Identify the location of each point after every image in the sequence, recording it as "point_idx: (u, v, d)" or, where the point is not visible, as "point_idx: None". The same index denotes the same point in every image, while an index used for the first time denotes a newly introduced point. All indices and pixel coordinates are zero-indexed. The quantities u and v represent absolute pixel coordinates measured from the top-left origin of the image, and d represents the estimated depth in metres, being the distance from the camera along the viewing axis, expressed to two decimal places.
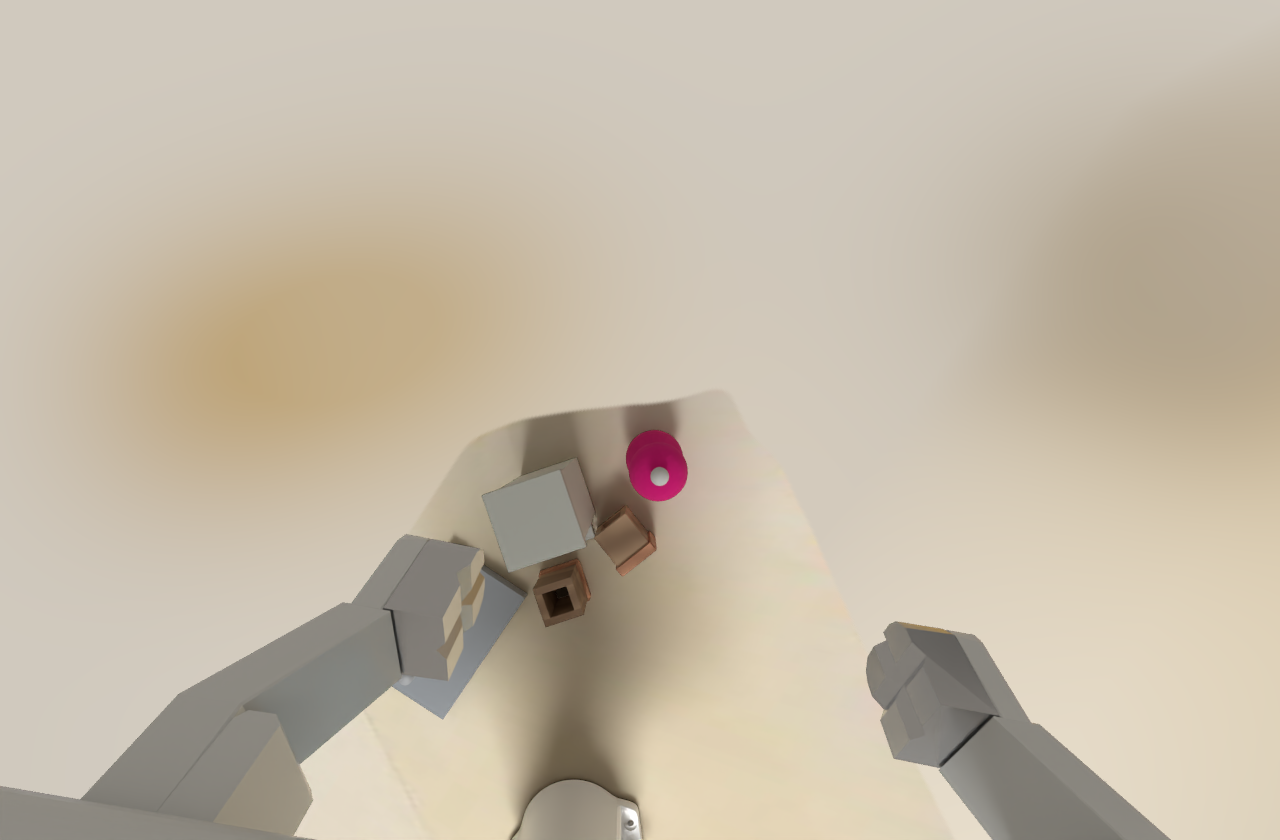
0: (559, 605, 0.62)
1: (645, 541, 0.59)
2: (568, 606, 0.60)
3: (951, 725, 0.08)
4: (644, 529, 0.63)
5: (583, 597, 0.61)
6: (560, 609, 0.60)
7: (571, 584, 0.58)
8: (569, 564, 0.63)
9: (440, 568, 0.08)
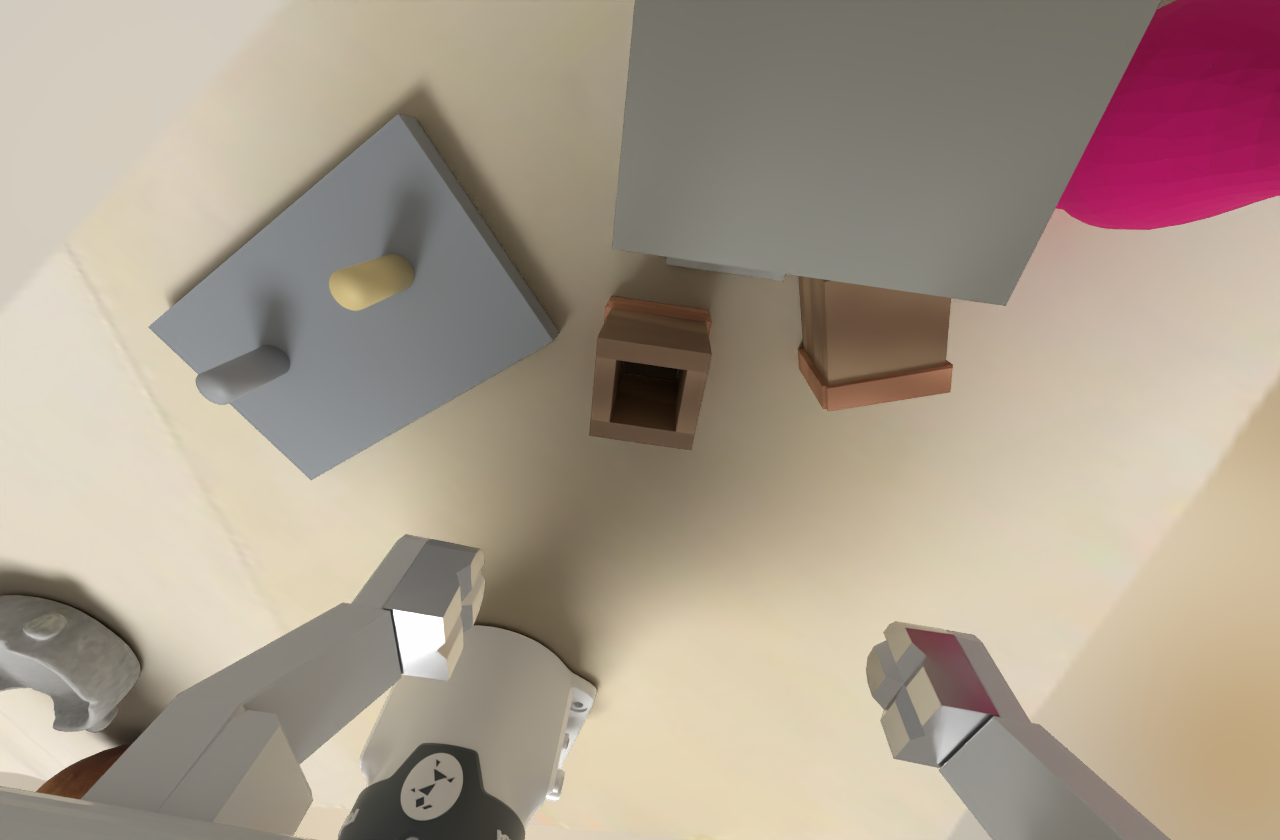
0: (630, 394, 0.25)
1: (941, 357, 0.21)
2: (654, 410, 0.24)
3: (951, 725, 0.08)
4: None
5: None
6: (634, 408, 0.24)
7: (703, 372, 0.21)
8: (690, 315, 0.24)
9: (440, 568, 0.08)
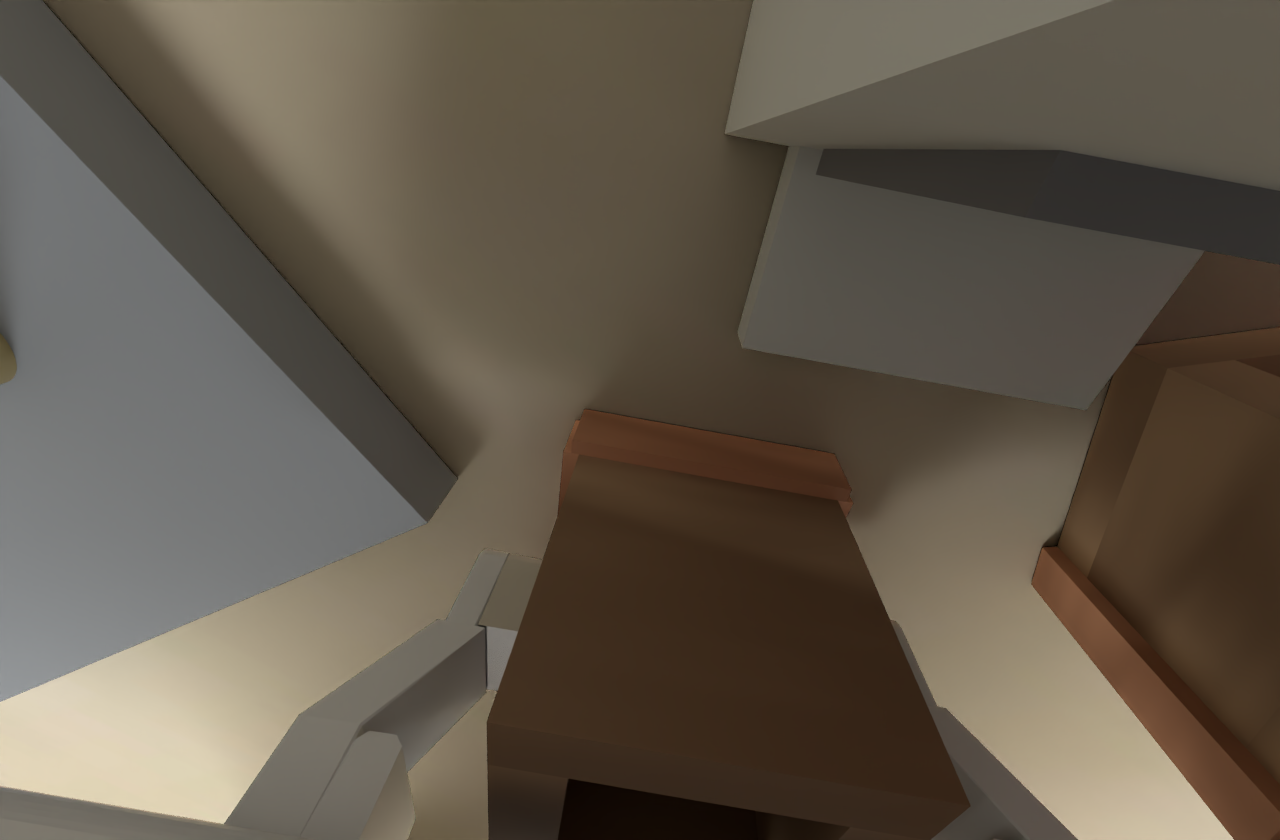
0: None
1: None
2: None
3: None
4: None
5: None
6: None
7: None
8: (796, 483, 0.09)
9: (525, 583, 0.08)
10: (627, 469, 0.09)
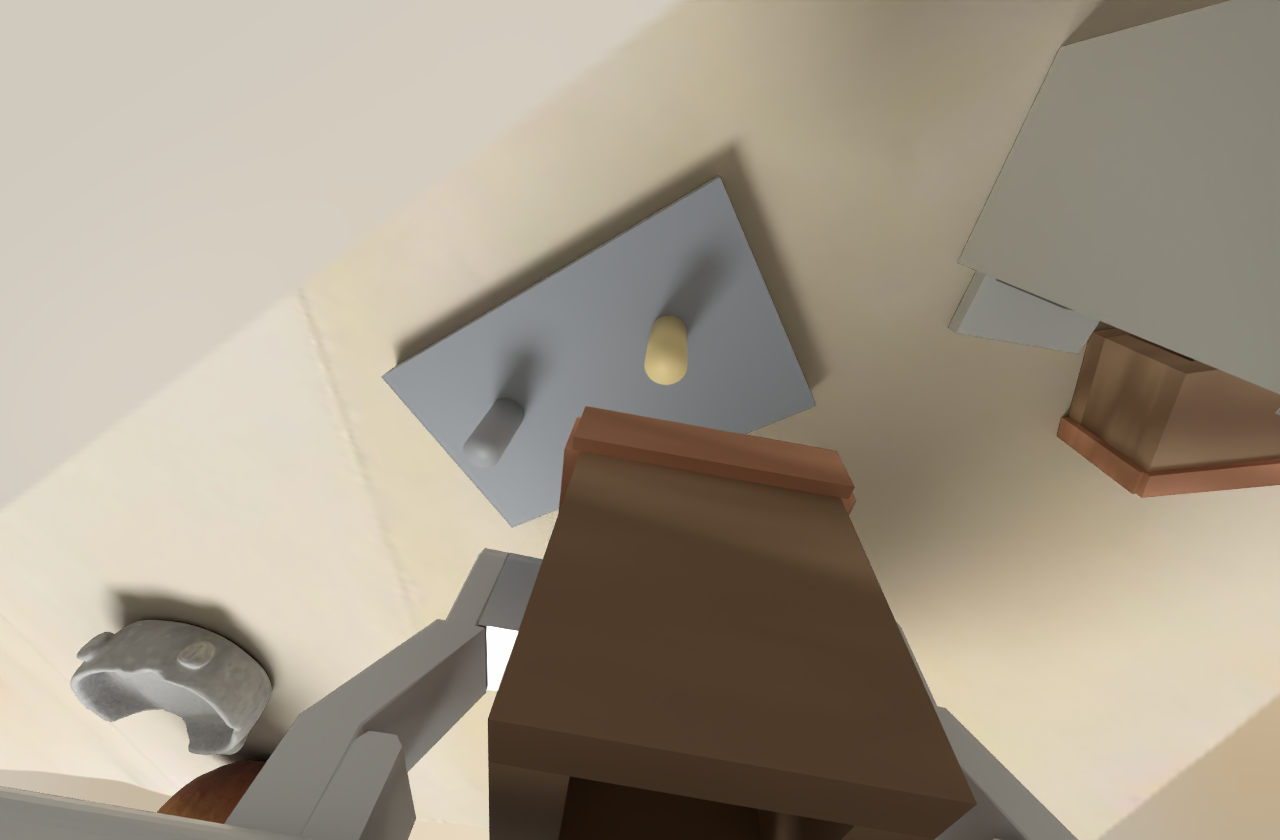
0: None
1: None
2: None
3: None
4: None
5: None
6: None
7: (917, 839, 0.05)
8: (799, 481, 0.09)
9: (525, 583, 0.08)
10: (629, 466, 0.09)
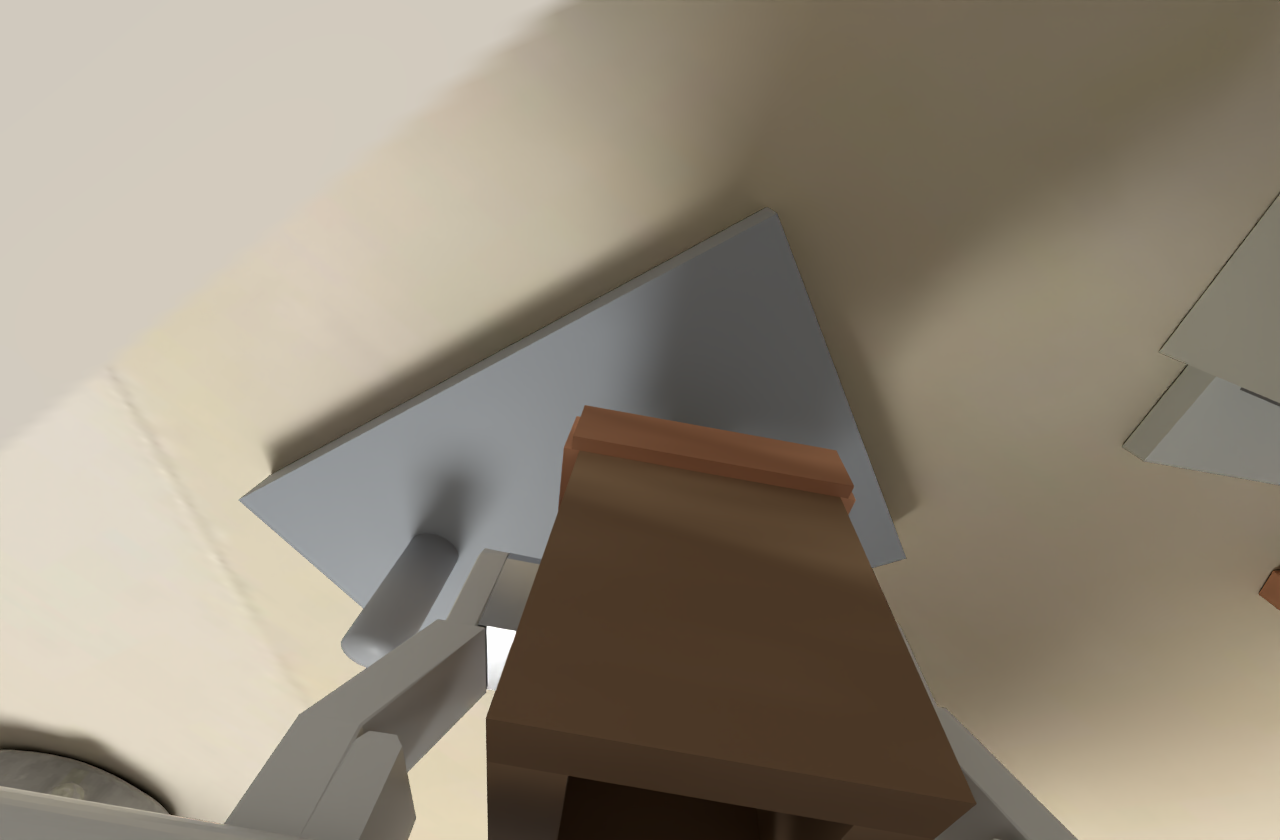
0: None
1: None
2: None
3: None
4: None
5: None
6: None
7: (916, 839, 0.05)
8: (799, 480, 0.09)
9: (525, 583, 0.08)
10: (628, 465, 0.09)
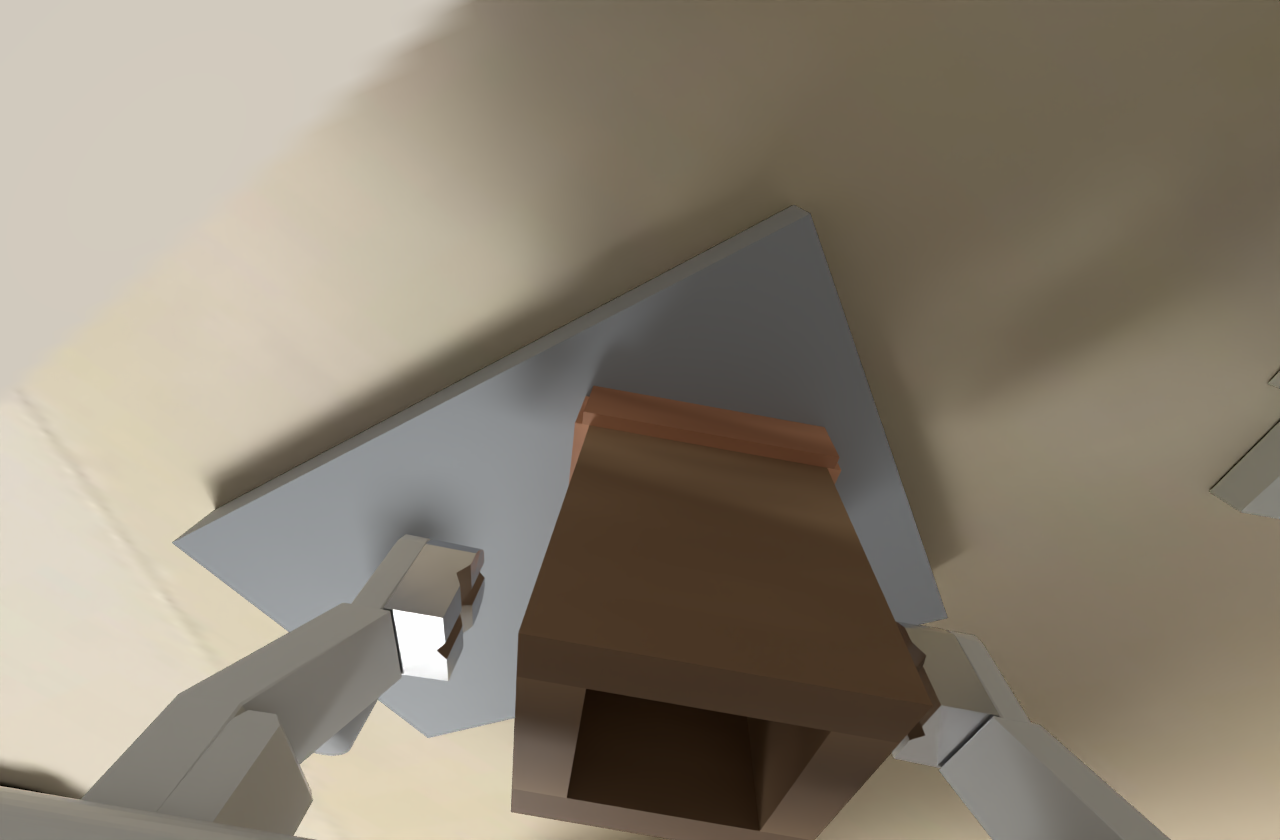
0: None
1: None
2: None
3: (951, 725, 0.08)
4: None
5: None
6: (639, 700, 0.09)
7: (884, 743, 0.06)
8: (789, 452, 0.10)
9: (440, 568, 0.08)
10: (634, 438, 0.09)
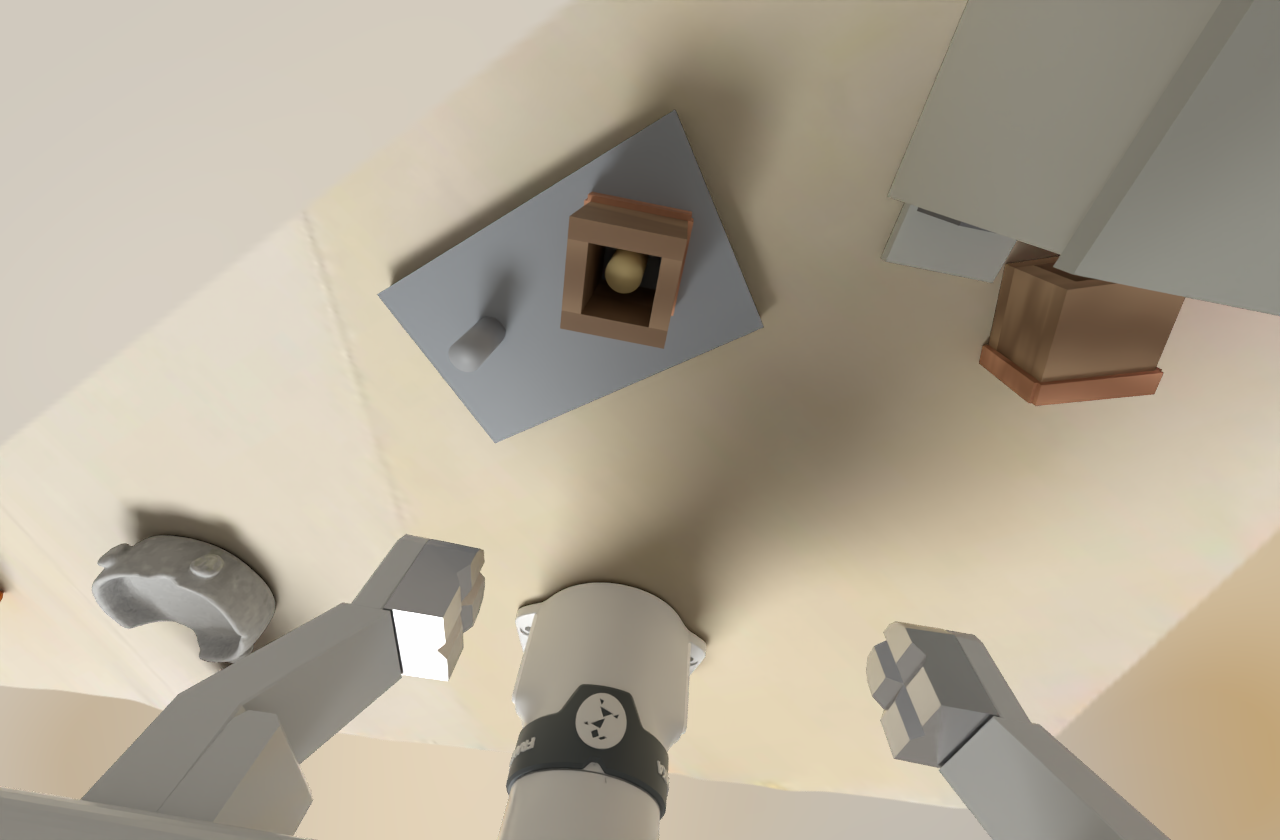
0: (606, 295, 0.24)
1: (1153, 363, 0.23)
2: (630, 309, 0.23)
3: (951, 725, 0.08)
4: None
5: None
6: (608, 306, 0.23)
7: (677, 260, 0.20)
8: (671, 213, 0.24)
9: (440, 568, 0.08)
10: (608, 205, 0.23)
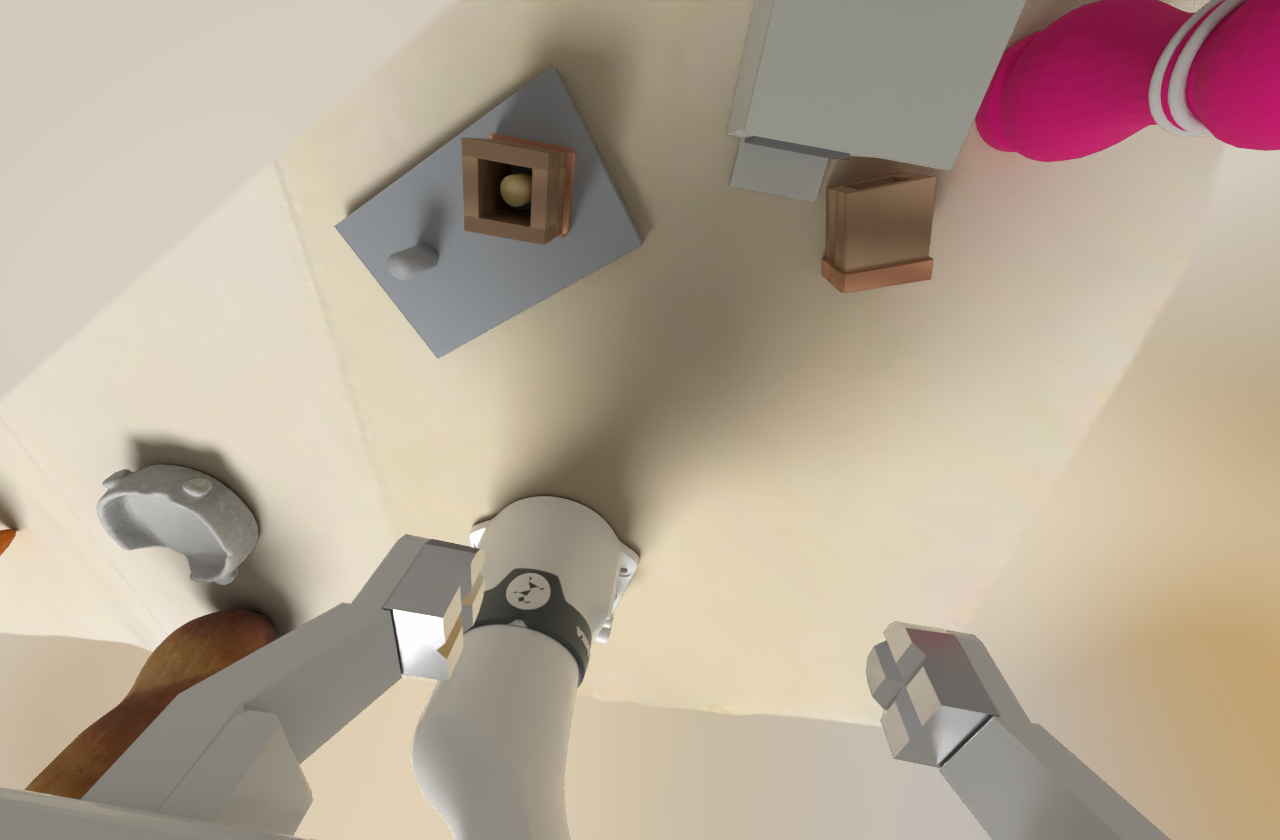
0: (507, 213, 0.31)
1: (925, 253, 0.30)
2: (522, 220, 0.30)
3: (951, 725, 0.08)
4: None
5: (555, 220, 0.31)
6: (505, 217, 0.30)
7: (544, 170, 0.27)
8: (554, 147, 0.31)
9: (440, 568, 0.08)
10: (505, 141, 0.30)
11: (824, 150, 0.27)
